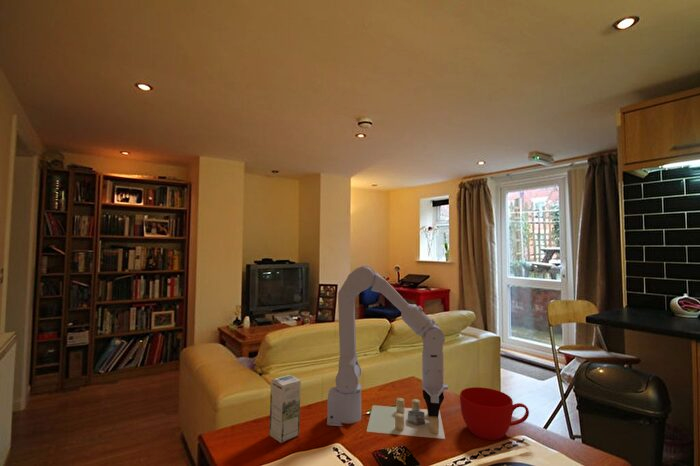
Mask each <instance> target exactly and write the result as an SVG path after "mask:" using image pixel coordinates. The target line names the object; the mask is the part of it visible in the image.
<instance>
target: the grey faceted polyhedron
mask: <svg viewBox="0 0 700 466" xmlns="http://www.w3.org/2000/svg"><path fill="white" fill-rule="evenodd" d="M408 423H410V424H413V425H416V426H418V425H423V424H425V415H424V412H421V411H418V410H412V411H408Z"/></svg>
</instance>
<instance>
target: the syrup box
mask: <svg viewBox="0 0 700 466" xmlns="http://www.w3.org/2000/svg"><path fill="white" fill-rule="evenodd" d="M301 384H302V381H301V380H300V379H299V378H297V377H296V376H294V375H291V374H286V375H283V376H280V377H276V378H272V379H271V380H270V394H269V396H270V397H269V402H270V403H269V426H268V427H269V429H268V430H269V431H268V432H269V433H268V434H269V436H270V437H271V438H273V440H276V441H278V443H280V444H283V443H285V442H287V441H290V440H292V439H295V438H296V437H298V436H300V423H301V421H300V418H301V388H302V387H301Z"/></svg>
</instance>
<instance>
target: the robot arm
mask: <svg viewBox="0 0 700 466" xmlns="http://www.w3.org/2000/svg"><path fill="white" fill-rule="evenodd" d="M370 287H371V289H370V292H371V291H372V292H375V293H378V294H379V293H380V294H382V295H383V296H384V297H385V298H386V299H387V300H388V301H389V302H390V303H391V304H392V305H393V306H394V307H396V309H397V310H398V311H400V313H401V314H400V317H401V318H400V319H401V320H402V321H404V323H405V324H406V325H407V326H408V327H409V328H410V329H411V330H412V331H413V332H414V333H415V334H416V336H417V335H418V336H420V337H421V340H422V342H423V343H422V354H421V355H422V356H421V358H422V361H421V362H422V363H421V365H422V366H421V368H422V371H421V372H422V383H421V388H422V389H423V390H422V398H423V399H424V402H425V405H426V409H428V415H429V417H430V416H436V417H438V415H439V410H440V409H441V405H442V403H443V402H444V399H445V395H444V391H445V390H447V391H448V390H449V386H448V384H444V352H443V350H444V344H445V341H446V338H445V335H444V333H443V331H442V329H441V327H440V326H439V325H438V324H437V323H436V321H435V320H434V319H432V318H430V317H429V316H428V315H427V314H426V312H424V311H423V310H424V309H423V307H422V306H421V305H417V304H415V303H413V304H411V303H408V302H407V301H406V299H405V298H403V296H402V295H401V294H400V293H399V292H398V291H397V290H396V289H395V288H394V287H393V286H392V285H391V284H390V282H388V281H387V280H386V279H385V278H384V277H383V276H382V275H380V274H379V273H378V272H375V270H374V269H373V268H372V267H370V266H368V265H362V266H359V267H357V268H356V269H354V270H352V272H351V273H349V274H348V276H347V277H346V278H345V281H344V283H343V284H342V286H341V287H340V289H339V291H338V292H337V301H338V302H337V306H338V311H337V312H338V331H339V332H338V337H339V340H338V341H339V360H338V372H337V374H336V376H335V386H331V387H330V388H329V389H328V393H327V394H328V395H327V407H326V408H327V414H326V415H327V417H326V418H327V420H326V421H327V422H326V425H327V426H331V427H332V426H333V427H344V425H343V424H355V423H358V422H360V421H361V419H362V385H361V384H360V382H359V379H360V377H361V374H362V368H361V366H360V364H359V361H358V360H359V359H358V354H357V333H356V310H355V306H356V305H355V300H356V299H355V298H356V297H358V296H359V295H360V293H362V292H364V291H366V290H368V289H369V288H370Z"/></svg>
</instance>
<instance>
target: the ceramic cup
mask: <svg viewBox="0 0 700 466" xmlns="http://www.w3.org/2000/svg"><path fill="white" fill-rule="evenodd" d="M459 400H460V401H459V402H460V404H459V405H460V409H461V415H462V418H463V422H464V423H465V425H466V427H467V428H468V429H469V431H470V432H471V434H473V435H474V436H475V437H477V438H480V439H482V440H483V439H484V440H489V441H495V440H500V439H502V438H504V436H505V435H506V433H507V432H508V431H509V430H510V427H512V426H516V425H519V424H522V423H524V422H525V421H526V420H527V419H528V417H529V416H530V411H529V408H528V406H527V405H526V404H523V403H521V402H519V403H514V401H513V399H512V398H511V396H509V395H508V394H506V393H505V392H503V391H500V390H497V389H493V388H489V387H488V388H487V387H479V386H478V387H467V388H464V389H462V390H461V391H460V393H459ZM517 408H524V409H525V413H524V415H523V416H522V417H521V418H519V419H516V420H513V421H512V419H513V418H512V417H513V414H514V411H515V410H516V409H517Z"/></svg>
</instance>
